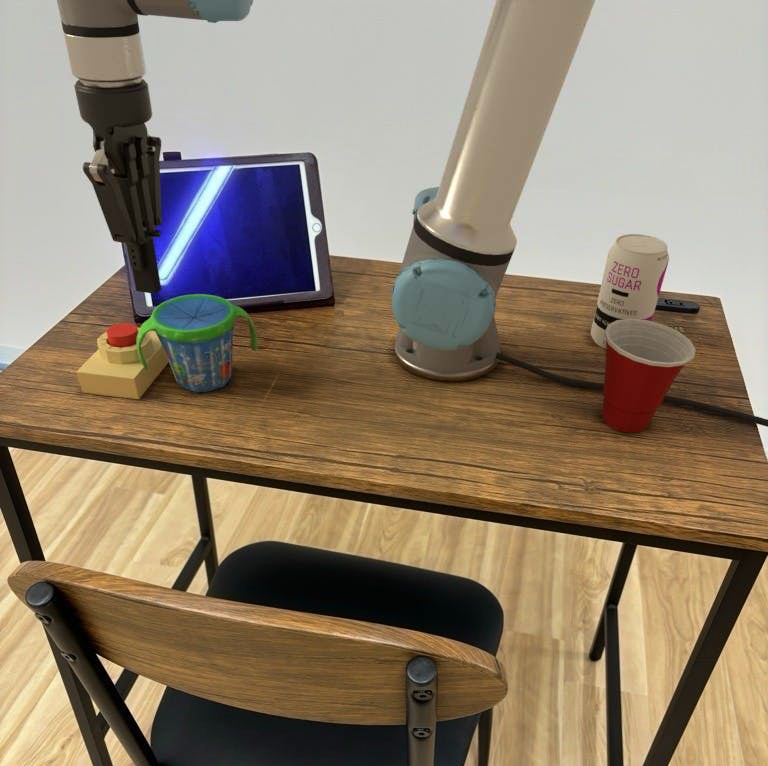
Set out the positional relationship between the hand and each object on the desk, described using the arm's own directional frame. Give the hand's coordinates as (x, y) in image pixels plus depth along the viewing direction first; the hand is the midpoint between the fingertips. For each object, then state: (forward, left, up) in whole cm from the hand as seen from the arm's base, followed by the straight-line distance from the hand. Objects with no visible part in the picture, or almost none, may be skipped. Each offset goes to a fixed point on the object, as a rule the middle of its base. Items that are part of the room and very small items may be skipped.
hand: (148, 290), depth 94 cm
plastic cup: (-62, -2, -13) cm, 64 cm away
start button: (+5, 0, -8) cm, 9 cm away
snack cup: (-6, 0, -13) cm, 14 cm away
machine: (+5, 0, -12) cm, 13 cm away
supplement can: (-62, -24, -13) cm, 68 cm away
